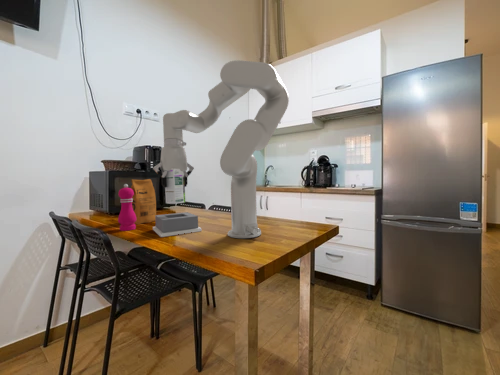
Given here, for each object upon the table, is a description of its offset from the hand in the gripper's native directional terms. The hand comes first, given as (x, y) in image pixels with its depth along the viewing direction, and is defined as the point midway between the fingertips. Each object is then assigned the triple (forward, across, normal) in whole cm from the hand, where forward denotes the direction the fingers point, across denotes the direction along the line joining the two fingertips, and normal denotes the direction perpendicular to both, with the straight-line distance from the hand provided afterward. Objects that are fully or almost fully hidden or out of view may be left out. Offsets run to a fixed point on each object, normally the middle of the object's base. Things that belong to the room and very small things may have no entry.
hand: (174, 186), depth 99 cm
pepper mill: (+19, +17, -16) cm, 30 cm away
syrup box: (+7, 0, 0) cm, 7 cm away
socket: (+18, 0, 0) cm, 18 cm away
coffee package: (+19, +9, -31) cm, 37 cm away
